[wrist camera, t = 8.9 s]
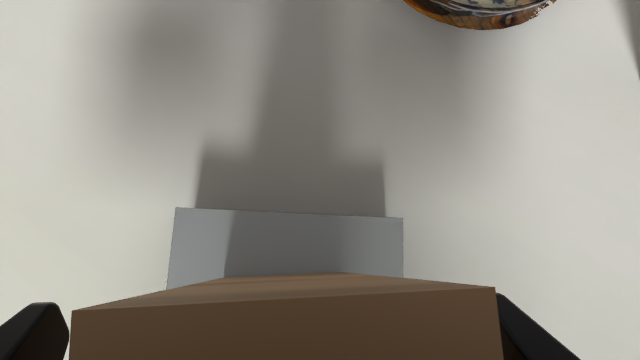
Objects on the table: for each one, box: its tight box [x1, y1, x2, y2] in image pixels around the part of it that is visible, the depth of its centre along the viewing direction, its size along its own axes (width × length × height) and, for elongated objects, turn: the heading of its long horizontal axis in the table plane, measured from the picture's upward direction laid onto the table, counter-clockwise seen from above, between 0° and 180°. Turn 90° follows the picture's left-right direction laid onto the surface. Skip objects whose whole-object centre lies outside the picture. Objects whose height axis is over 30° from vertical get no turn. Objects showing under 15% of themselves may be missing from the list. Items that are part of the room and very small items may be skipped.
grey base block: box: [166, 207, 403, 290], centre depth 18 cm, size 9×9×4 cm
